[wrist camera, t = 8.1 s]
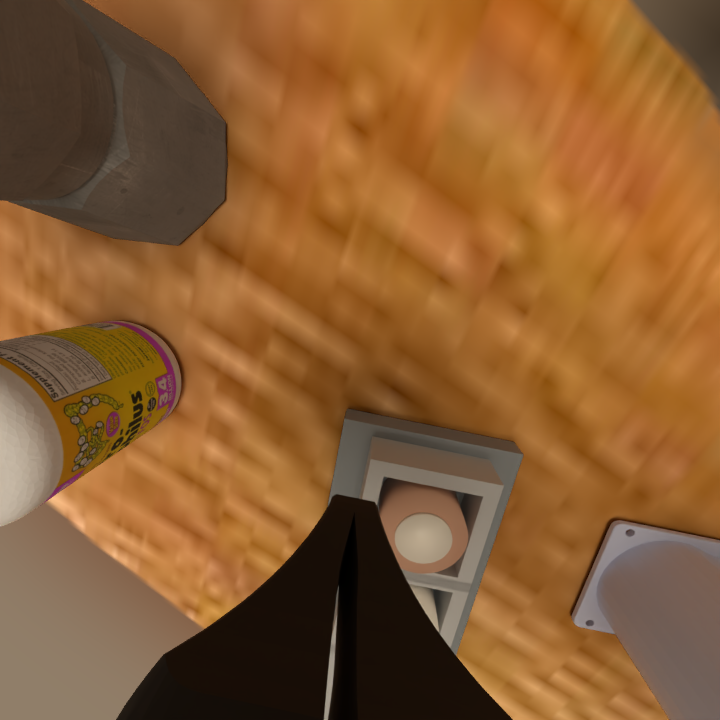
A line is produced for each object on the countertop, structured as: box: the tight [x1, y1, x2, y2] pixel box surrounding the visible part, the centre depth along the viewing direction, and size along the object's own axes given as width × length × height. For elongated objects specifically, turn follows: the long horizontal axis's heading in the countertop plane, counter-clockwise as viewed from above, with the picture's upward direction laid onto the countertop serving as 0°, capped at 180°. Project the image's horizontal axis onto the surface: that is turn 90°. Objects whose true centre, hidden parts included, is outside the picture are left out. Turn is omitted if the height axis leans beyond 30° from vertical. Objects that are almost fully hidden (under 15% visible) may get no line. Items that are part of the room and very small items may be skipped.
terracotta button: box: [379, 477, 468, 574], centre depth 19 cm, size 4×4×3 cm
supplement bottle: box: [0, 321, 181, 526], centre depth 16 cm, size 7×7×13 cm
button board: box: [324, 409, 523, 720], centre depth 22 cm, size 10×20×4 cm, turn 169°
